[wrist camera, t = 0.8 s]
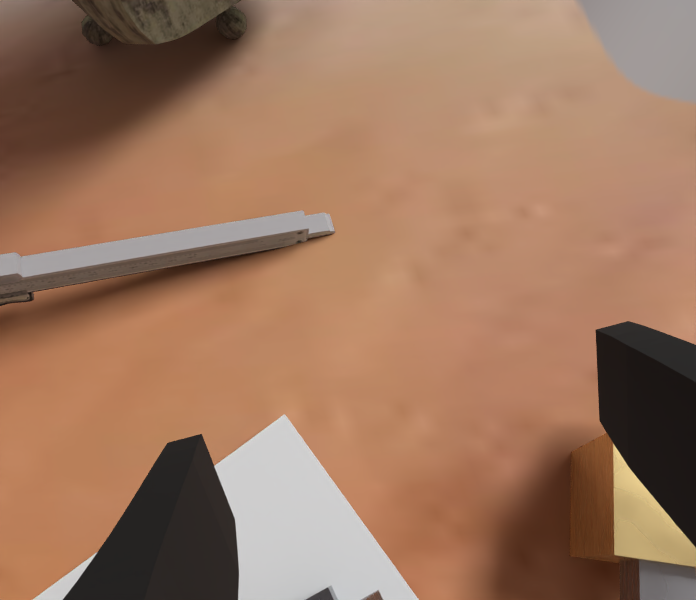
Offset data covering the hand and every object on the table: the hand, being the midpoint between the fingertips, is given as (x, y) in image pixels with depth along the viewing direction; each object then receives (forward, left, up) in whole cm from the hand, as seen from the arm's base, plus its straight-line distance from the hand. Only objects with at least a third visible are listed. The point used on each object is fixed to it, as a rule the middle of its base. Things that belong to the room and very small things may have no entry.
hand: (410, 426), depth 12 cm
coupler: (-6, -7, -16) cm, 18 cm away
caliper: (+15, +4, -16) cm, 23 cm away
